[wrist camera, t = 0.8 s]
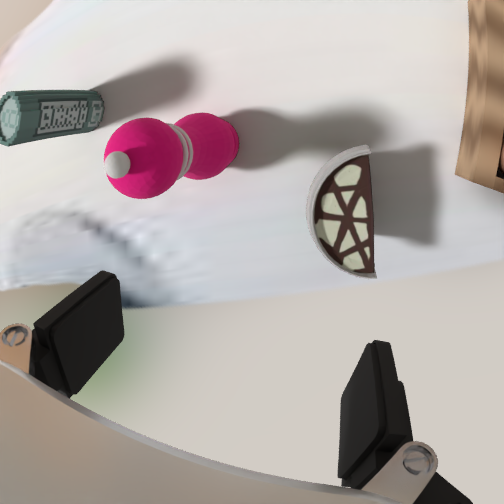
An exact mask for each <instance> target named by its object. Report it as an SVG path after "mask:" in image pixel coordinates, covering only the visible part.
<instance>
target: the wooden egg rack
mask: <svg viewBox="0 0 504 504" xmlns="http://www.w3.org/2000/svg"><path fill="white" fill-rule="evenodd" d="M468 12H469V70H468V86H467V98H466V107H465V116H464V124H463V131H462V137H461V144H460V150H459V155H458V161H457V166H456V171H455V175H458V176H460V177H462V178H465V179H467V180H469V181H471V182H474V183H477V184H480V185H482V186H485V187H488V188H491V189H493V190H496V191H499V192H501V193H504V179H502V178H499V177H497V176H496V173H497V168H498V163H499V157H500V152H501V145H502V139H503V131H504V0H469V1H468Z"/></svg>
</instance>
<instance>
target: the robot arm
mask: <svg viewBox="0 0 504 504" xmlns="http://www.w3.org/2000/svg"><path fill="white" fill-rule="evenodd" d="M34 327H35V329H33V330H32V331H31V329H30V327H28V326H27V325H25V324H19V323H17V324H12V325H9V326H7V327H6V328H4V329H3V330H2V331H1V332H0V504H473V503H472V502H471V501H470V499H468V498H467V497H466V496H465V495H463V494H462V493H461V492H460V491H459V490H457V489H456V488H455V487H454V486H452V485H451V484H450V483H449V482H448V481H446V480H445V479H444V478H443V477H441V476H440V475H439V474H438V473H437V472H436V469H437V467H438V459H437V455H436V454H435V452H434V450H433V449H432V448H431V447H429V446H428V445H427V444H424V443H422V442H418V441H413V436H412V430H411V423H410V417H409V411H408V405H407V400H406V395H405V390H404V385H403V383H402V382H401V381H398V377H397V372H396V367H395V362H394V358H393V353H392V349H391V345H390V343H389V342H384V341H378V340H374V341H373V342H372V343H368V344H367V345H366V347H365V349H364V352H363V354H362V356H361V358H360V360H359V362H358V364H357V366H356V368H355V370H354V372H353V374H352V376H351V378H350V381H349V382H348V384H347V386H346V388H345V390H344V392H343V394H342V397H341V412H340V413H341V414H340V442H339V443H340V444H339V462H338V478H342V485H341V486H343V487H339V486H333V485H326V484H319V483H312V482H306V481H300V480H294V479H289V478H284V477H279V476H273V475H269V474H264V473H260V472H255V471H251V470H247V469H243V468H239V467H235V466H231V465H228V464H224V463H220V462H217V461H214V460H210V459H207V458H204V457H201V456H198V455H195V454H192V453H189V452H186V451H183V450H180V449H178V448H175V447H172V446H169V445H166V444H164V443H161V442H159V441H156V440H154V439H151V438H149V437H146V436H144V435H142V434H139V433H137V432H135V431H132V430H130V429H128V428H126V427H124V426H122V425H119V424H117V423H115V422H113V421H111V420H109V419H107V418H105V417H103V416H101V415H99V414H97V413H95V412H93V411H91V410H89V409H87V408H85V407H83V406H82V405H80V404H78V403H76V402H74V401H73V400H71V399H70V397H71V396H72V395H73V394H77V393H78V392H79V391H80V390H81V389H82V387H83V386H84V385H85V384H86V382H87V381H88V380H89V379H90V378H91V377H92V375H93V374H94V373H95V372H96V371H97V370H98V368H99V367H100V366H101V365H102V364H103V363H104V361H105V360H106V359H107V358H108V357H109V356H110V354H111V353H112V352H113V351H114V350H115V349H116V347H117V346H118V345H119V344H120V343H121V342H122V340H123V338H124V325H123V316H122V305H121V294H120V282H119V280H118V279H117V277H116V275H115V274H112V273H109V272H106V271H100V272H99V273H97V274H96V275H95V276H93V277H92V278H91V279H89V280H88V281H87V282H85V283H84V284H83V285H81V286H80V287H79V288H77V289H76V290H75V291H74V292H72V293H71V294H70V295H68V296H67V297H66V298H64V299H63V300H62V301H61V302H60V303H58V304H57V305H56V306H54V307H53V308H52V309H51V310H50V311H48V312H47V313H46V314H45V315H43V316H42V317H41V318H39V319H38V320H37V321H36V322H35V323H34ZM57 391H58V392H57ZM346 487H351V488H346Z"/></svg>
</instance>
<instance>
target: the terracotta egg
mask: <svg viewBox="0 0 504 504" xmlns="http://www.w3.org/2000/svg"><path fill="white" fill-rule="evenodd" d="M498 167H499V169H500V170H501V172H502V173H503V174H504V137H503V139H502V145H501V152H500V157H499V163H498Z"/></svg>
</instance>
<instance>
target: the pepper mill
mask: <svg viewBox="0 0 504 504" xmlns="http://www.w3.org/2000/svg"><path fill="white" fill-rule="evenodd" d="M238 149H239V138H238V135H237V132H236V130H235V129H234V128H233V126H232V125H231V124H230V123H228V122H227V121H225V120H223V119H220V118H219V117H217V116H215V115H213V114H209V113H195V114H191V115H187V116H185V117H184V118H182V119H180V120H179V121H177V122H176V123H175V124H174V125H173V124H167V123H164V122H162V121H160V120H158V119H153V118H139V119H134V120H131V121H129V122H127V123H125V124H123V125H122V126H121V127H119V128H118V129H117V130H116V131H115V132H114V133H113V134H112V136H111V138H110V139H109V141H108V143H107V146H106V149H105V154H104V170H105V172H106V174H107V177H108V179H109V181H110V182H111V184H112V185H113V186H114V187H115V188H116V189H117V190H118V191H119V192H121V193H122V194H124V195H126V196H128V197H132V198H137V199H147V198H152V197H155V196H158V195H160V194H162V193H164V192H165V191H167V190H168V189H169V188H170V187H171V186H172V185H173V184H174V183H175V181H176V180H178V179H180V178H181V177H183V176H184V177H187V178H190V179H196V180H202V179H207V178H211V177H214V176H216V175H218V174H219V173H221V172H222V171H223V170H224V169H225V168H226V167H227V166H228V165H229V164H230V163H231V162H232V161H233V160H234V158H235V157H236V155H237V153H238Z"/></svg>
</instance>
